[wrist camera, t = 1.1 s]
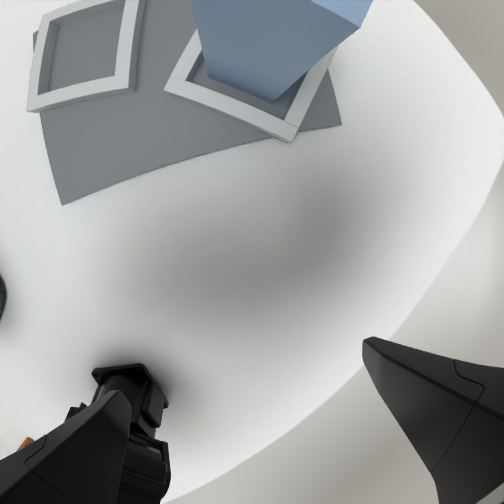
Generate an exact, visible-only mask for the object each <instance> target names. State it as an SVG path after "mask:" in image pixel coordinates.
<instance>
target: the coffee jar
mask: <svg viewBox="0 0 504 504" xmlns="http://www.w3.org/2000/svg"><path fill="white" fill-rule="evenodd" d="M3 302H4V293H3V289H2V287H1V285H0V316H1V312H2V308H3Z"/></svg>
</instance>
